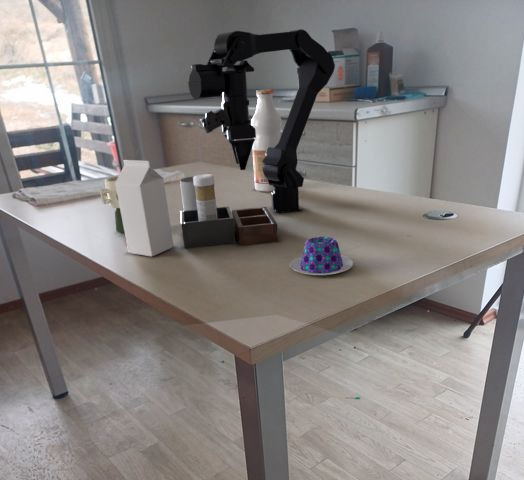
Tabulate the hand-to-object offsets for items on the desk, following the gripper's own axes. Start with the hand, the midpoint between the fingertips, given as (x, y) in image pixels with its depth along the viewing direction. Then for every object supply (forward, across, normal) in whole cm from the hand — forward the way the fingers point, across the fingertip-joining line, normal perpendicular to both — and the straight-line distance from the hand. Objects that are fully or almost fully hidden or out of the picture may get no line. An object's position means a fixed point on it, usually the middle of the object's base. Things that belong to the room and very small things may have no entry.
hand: (240, 166), depth 127 cm
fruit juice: (+13, -34, +12) cm, 38 cm away
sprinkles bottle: (+13, +13, -10) cm, 20 cm away
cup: (+13, -6, -11) cm, 18 cm away
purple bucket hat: (+13, +40, +10) cm, 43 cm away
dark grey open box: (+13, +13, -10) cm, 21 cm away
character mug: (+13, +1, -29) cm, 32 cm away
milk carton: (+13, +18, -23) cm, 32 cm away
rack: (+13, +13, +1) cm, 18 cm away
